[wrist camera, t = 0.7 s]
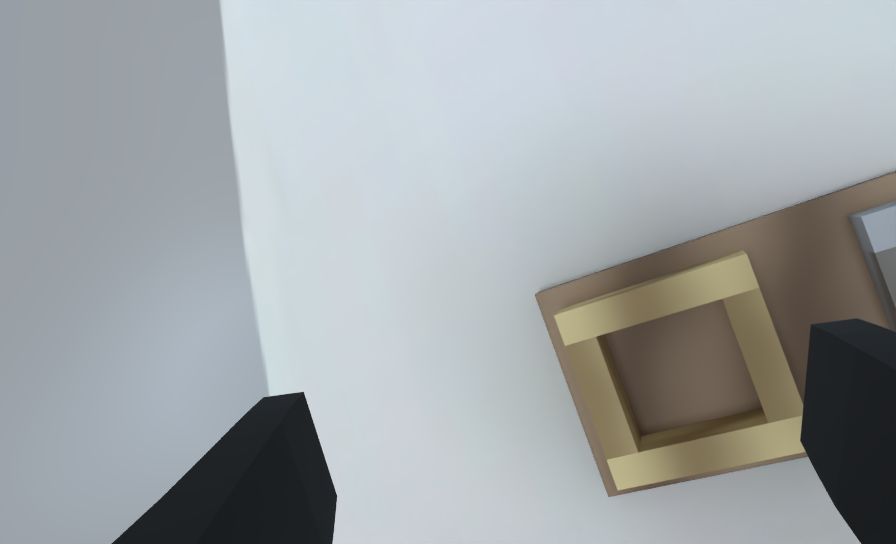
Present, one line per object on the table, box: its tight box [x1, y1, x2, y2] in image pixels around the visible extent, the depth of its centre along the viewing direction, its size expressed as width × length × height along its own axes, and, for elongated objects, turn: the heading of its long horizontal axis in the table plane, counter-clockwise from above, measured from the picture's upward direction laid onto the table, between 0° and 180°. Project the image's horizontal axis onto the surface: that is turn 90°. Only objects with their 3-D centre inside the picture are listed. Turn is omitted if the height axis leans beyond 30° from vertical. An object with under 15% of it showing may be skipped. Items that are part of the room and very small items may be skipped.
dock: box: [535, 171, 896, 497], centre depth 25 cm, size 22×10×3 cm, turn 111°
